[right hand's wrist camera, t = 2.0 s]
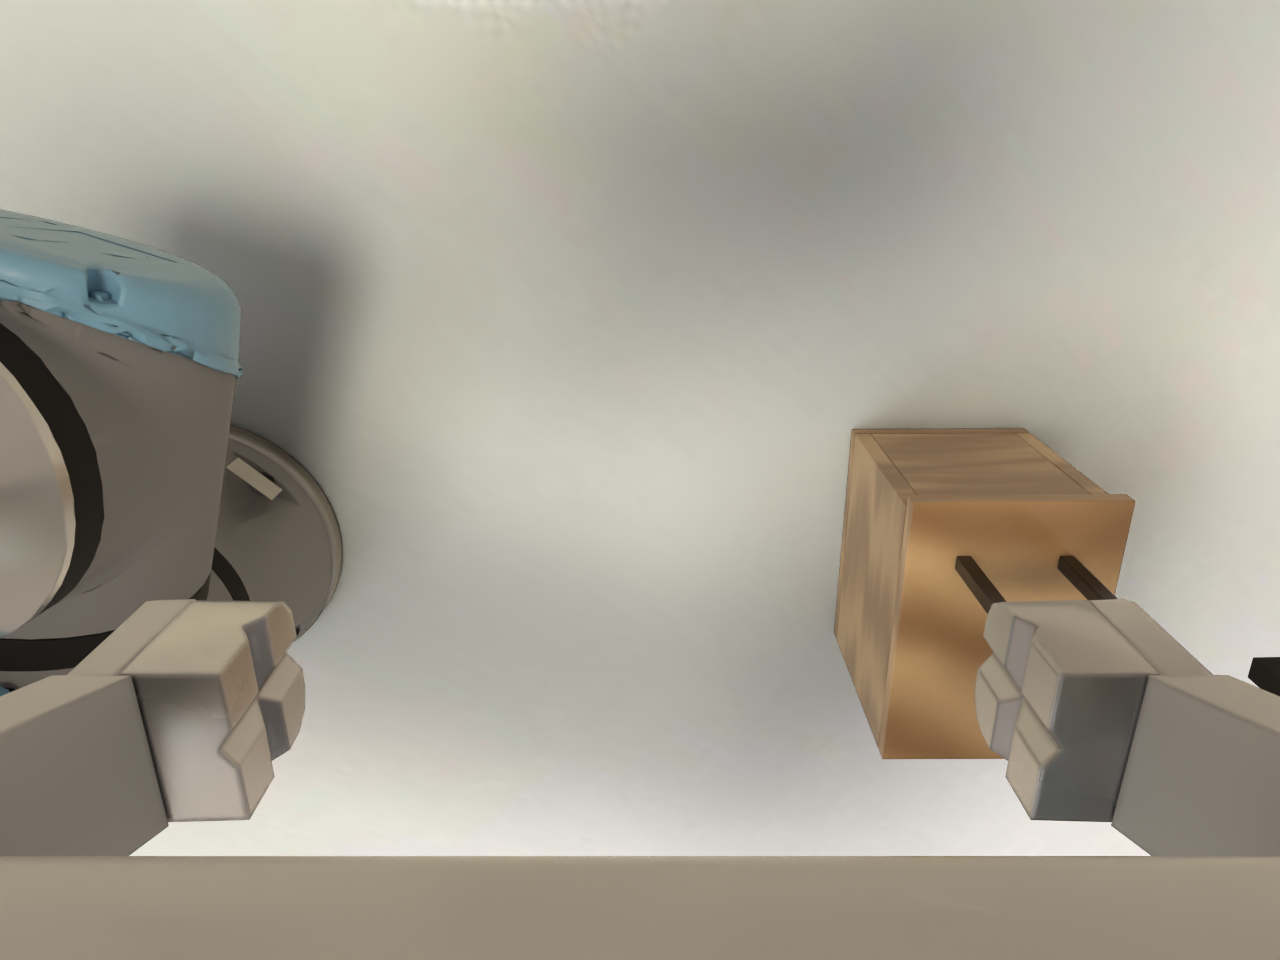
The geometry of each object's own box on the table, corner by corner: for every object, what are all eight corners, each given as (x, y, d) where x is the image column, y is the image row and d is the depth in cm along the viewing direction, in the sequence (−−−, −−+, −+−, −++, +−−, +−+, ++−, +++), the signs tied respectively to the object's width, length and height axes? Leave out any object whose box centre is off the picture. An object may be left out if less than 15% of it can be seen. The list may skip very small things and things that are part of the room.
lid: (907, 494, 40) (973, 584, 32) (1126, 494, 40) (1246, 582, 32) (878, 748, 45) (928, 879, 37) (1071, 748, 45) (1162, 878, 37)
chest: (851, 428, 50) (906, 505, 40) (1024, 427, 50) (1123, 504, 40) (833, 633, 55) (877, 748, 45) (990, 632, 55) (1070, 747, 45)
